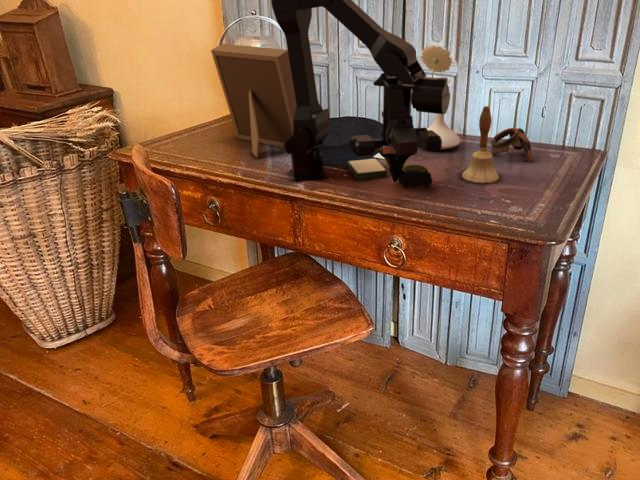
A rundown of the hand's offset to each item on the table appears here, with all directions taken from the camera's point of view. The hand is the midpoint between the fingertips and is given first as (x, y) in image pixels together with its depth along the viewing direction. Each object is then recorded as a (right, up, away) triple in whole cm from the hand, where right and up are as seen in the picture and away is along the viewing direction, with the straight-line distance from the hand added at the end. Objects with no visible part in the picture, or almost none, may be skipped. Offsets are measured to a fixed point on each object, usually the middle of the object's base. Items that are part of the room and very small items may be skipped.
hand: (394, 181), depth 125 cm
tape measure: (+5, -1, +2) cm, 5 cm away
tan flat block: (-6, +4, +10) cm, 13 cm away
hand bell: (+20, +2, +6) cm, 21 cm away
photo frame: (-34, +13, +28) cm, 46 cm away
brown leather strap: (+31, +9, +19) cm, 37 cm away
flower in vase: (+12, +14, +27) cm, 33 cm away
